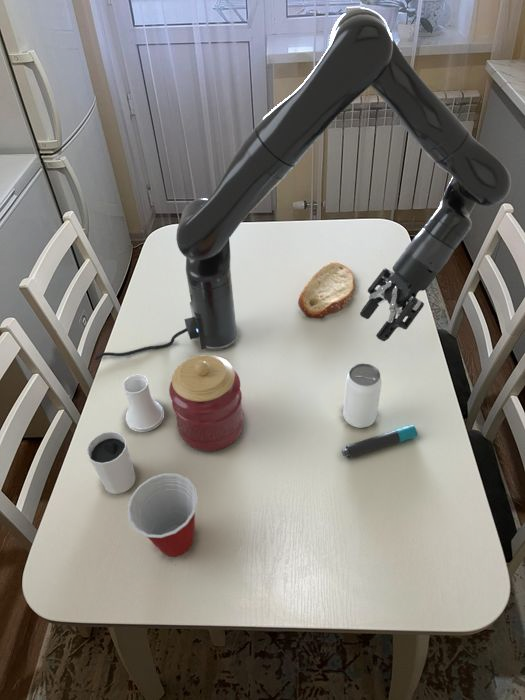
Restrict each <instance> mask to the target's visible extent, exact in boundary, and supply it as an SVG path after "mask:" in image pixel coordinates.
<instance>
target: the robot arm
mask: <svg viewBox="0 0 525 700" xmlns="http://www.w3.org/2000/svg"><path fill="white" fill-rule="evenodd" d="M329 40H330V41H329V46H328V48H327V49H326V51H325V53H324V54H323V56H322V57H321V59H320V60H319V61H318V63H317V65H316V66H315V67H314V69H313V70H312V71H311V73H310V74H309V75H308V76H307V78H306V79H305V80H304V82H303V83H302V84H301V85H300V86H299V87H298V88H297V89H296V90H295V91H294V92H293V93H292V94H291V95H289V96H288V97H287V98H285V99H284V100H283V101H282V102H280V103H279V104H277V106H275V107H273V109H271V111H269V112H268V113H267V114H266V115H265V116H264V117H263V118H262V119H261V120H260V121H259V122H258V123H257V125H256V126H255V127H254V128H253V129H252V131H251V132H250V133H249V134H248V136H247V137H246V138H245V139H244V141H242V143H241V145H240V146H239V148H238V149H237V151H236V153H235V154H234V156H233V157H232V159H231V161H230V162H229V164H228V165H227V167H226V169H225V172H224V174H223V175H222V177H221V179H220V181H219V183H218V184H217V186H216V188H215V190H214V191H213V192H212V194H211V195H210V196H209V197H208V198H198V199H194V200H192V201H191V202H188V203H187V205H186V206H185V207H184V209H183V210H182V212H181V216H180V218H179V222H178V225H177V228H176V235H175V237H176V244H177V248H178V250H179V252H180V253H181V254H182V255H183V256H184V257H185V274H186V279H187V286H188V291H189V298H190V302H189V305H190V312H191V316H192V317H187V318H184V326H185V328H184V329H182V330H180V331H178V332H176V333H175V334H174V335H173V336H172V337H171V339H170V341H168V342H167V343H165V344H159V345H158V344H156V345H149V346H148V345H147V346H144V347H141V348H137V349H133V350H130V351H124V352H109V351H108V352H107V351H106V352H102V353H99V354H98V355H96V356H95V358H94V360H95V361H97V360H99V359H100V358H102V357H106V356H109V357H124V356H129V355H133V354H137V353H141V352H145V351H148V350H155V349H163V348H168V347H170V346H172V345H173V344H174V342H175V339H176V338H178V337H179V336H181V335H184V334H185V333H186V332H187V334H188V337H189V339H190V340H193V339H196V341H197V343H198V344H199V348H200V350H202V351H203V350H209V351H221V350H225V349H228V348H229V347H231V346H232V345H234V344H235V342H237V339H238V327H237V321H236V311H235V310H236V309H235V301H234V291H233V283H232V272H231V270H232V269H231V262H232V261H231V256H232V255H231V243H230V238H231V236H233V234H234V232H235V231H236V230H237V228H238V227H239V225H240V224H242V222H243V221H244V219H246V217H247V216H248V215H250V213H251V212H252V211H253V210H254V209H255V208H256V207H257V206H258V205H259V204H260V203H261V202H262V201H264V199H265V198H266V197H267V196H268V195H269V194H270V193H271V192H272V191H273V190H274V189H275V187H277V185H278V184H280V183H281V182H282V181H283V180H284V178H285V177H286V176H287V175H288V174H289V173H291V171H292V170H293V169H294V168H295V166H296V165H297V164H298V163H299V162H300V161H301V159H302V158H303V157H304V156H305V155H306V153H308V151H309V150H310V149H311V148H312V147H313V146H314V144H315V143H316V142H317V141H318V140H319V138H320V137H322V135H323V133H325V131H326V130H327V128H328V127H329V126H330V125H331V124H332V123H333V121H334V120H335V119H336V118H337V117H339V115H340V114H342V112H344V110H346V109H347V107H349V106H350V105H351V104H352V103H353V102H354V101H355V100H357V98H358V97H360V96H361V95H362V94H363V93H364V92H366V90H368V89H369V88H371V89H372V90H374V92H376V94H377V95H378V96H380V97H381V99H382V100H383V101H384V102H385V104H387V105H388V107H389V108H390V110H391V111H392V112H393V114H394V115H395V116H396V117H397V119H398V120H399V122H400V124H402V126H403V127H404V129H405V130H406V132H407V133H408V135H410V137H411V138H412V140H413V141H414V142H415V143H416V144H417V146H418V147H419V148H420V149H421V150H422V151H423V152H424V153H425V154H426V156H427V157H428V158H430V160H431V161H432V162H433V163H434V164H435V165H437V167H439V168H440V169H441V170H443V171H444V172H446V173H447V174H449V175H450V176H451V179H450V181H449V182H448V185H447V187H446V189H445V191H444V193H443V195H442V197H441V199H440V202H439V205H438V207H437V208H436V210H435V211H434V213H433V214H432V215H431V216H430V218H429V219H428V220H427V222H426V223H425V224H424V226H423V227H422V228H421V230H420V231H419V232H418V233H417V234H415V236H414V237H413V239H412V240H411V241H410V243H408V245H407V246H406V248H405V249H404V250H403V252H402V253H401V255H400V256H399V257H398V259H397V260H396V261H395V263H394V265H393V266H392V270H390V269H388V268H387V267H384V268H383V269H382V271H381V272H380V273H379V274H378V276H377V277H376V278H375V280H374V281H373V282H372V283H371V285H370V286H369V287H368V289H367V293H369V296H368V300H367V302H366V303H365V305H364V306H363V307H362V309H361V310H360V312H359V315H360V317H362V318H364V319H365V320H369V319H370V318H371V317H372V316H373V314H374V313H375V312H376V310H377V308H378V307H380V305H379V304H382V303H384V302H387V303H388V305H389V308H388V310H389V316H388V320H386V321H385V323H383V325H382V326H381V328H380V329H379V330H378V332H376V334H375V336H376V338H377V339H378V340H379V341H382V342H386V341H387V340H389V339H390V338H391V337H392V335H393V334H394V332H395V331H396V329H399V328H400V329H402V330H407V329H408V328H409V326H411V324H412V323H413V321H415V319H416V318H417V316H418V315H419V313H420V312H421V310H422V309H423V308H424V306H425V302H423V301H421V300H420V299H418V298H417V295H418V293H419V292H421V291H422V292H423V291H426V290H427V288H428V287H429V286H430V285H431V284H432V282H433V281H434V280H435V278H436V277H437V276H438V274H439V273H440V272H441V271H442V269H443V268H444V267H445V265H446V264H447V262H449V260H450V258H451V257H452V255H453V253H454V252H455V250H456V249H457V248H458V246H459V245H460V244H461V242H462V241H463V240H464V238H465V237H466V236H467V235H468V233H469V232H470V230H471V229H472V225H473V222H472V219H471V216H470V215H471V214H472V211H473V209H474V208H475V206H476V204H477V205H480V206H484V207H485V206H486V207H488V206H496V205H497V204H499V203H501V202H503V201H504V200H505V198H506V197H507V196H508V195H509V193H510V191H511V187H512V178H511V174H510V172H509V170H508V169H507V167H506V166H505V165H504V164H503V163H502V161H500V160H499V158H497V157H496V156H495V155H494V154H493V153H492V152H490V151H489V150H488V149H487V148H486V147H484V146H483V145H482V144H481V142H478V140H477V139H475V137H473V135H472V134H471V132H470V130H468V128H467V127H466V126H465V125H464V124H463V123H462V122H461V120H460V119H459V118H458V117H457V115H455V114H454V113H453V111H452V110H450V108H449V107H448V106H447V105H446V104H445V102H444V101H442V100H441V98H440V97H439V96H437V94H436V93H435V92H434V91H433V90H432V89H431V88H430V87H429V86H428V85H427V83H426V82H424V80H423V79H422V78H421V77H420V75H419V74H418V73H417V72H416V71H415V69H414V68H413V67H412V66H411V64H410V63H409V62H408V60H407V59H406V57H405V55H404V54H403V53H402V51H401V50H400V48H399V46H398V45H397V42H395V39H394V37H393V36H392V33H391V32H390V28H389V26H388V24H387V21H386V20H385V19H384V17H382V15H381V14H379V13H378V12H376V11H375V10H372V9H370V8H365V7H358V8H353V9H351V10H347V12H345V13H343V14H342V15H341V16H340V17H339V18H338V19H337V21H336V22H335V24H334V26H333V28H332V31H331V34H330V39H329ZM378 286H379V287H378ZM377 287H378V288H377ZM376 288H377V289H376ZM406 317H407V318H406Z"/></svg>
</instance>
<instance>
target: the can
mask: <svg viewBox="0 0 525 700" xmlns="http://www.w3.org/2000/svg"><path fill="white" fill-rule="evenodd" d="M381 389H382V377H381V372H380V370H379V368H377V366H374V365H372V364H370V363H366V362H365V363H357V364H355V365H353V366H352V367H351V368H350V369H349V372H348V374H347V375H346V379H345V388H344V398H343V410H342V413H343V414H342V415H343V418H344V420H345V422H346V423H347V424H348V425H350V426H352V427H354V428H359V429H362V428H363V429H364V428H368V427H370V426H371V425H373V424H374V423H375V422H376V419H377V414H378V409H379V401H380V396H381Z"/></svg>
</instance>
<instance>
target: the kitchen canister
mask: <svg viewBox="0 0 525 700" xmlns="http://www.w3.org/2000/svg"><path fill="white" fill-rule="evenodd" d="M168 392H169V397H170V400H171V406H172V409H173V412H174V413H175V418H176V426H177V431H178V433H179V435H180V437H181V438H182V440H183V442H184V443H186V445H188V446H189V447H190V448H192V449H194V450H197V451H201V452H217V451H220V450H224V449H225V448H228V447H230V446H231V445H232V444H234V443H235V442H236V441H237V440H238V439H239V437H240V435H241V434H242V433H243V428H244V424H245V413H244V410H243V405H242V399H243V396H242V390H241V379H240V377H239V374H238V372H237V371H236V370H235V369H234V367H233V366H232V364H231V363H230V362H229V361H228V360H227V359H225V358H223V357H221V356H218V355H214V354H201V355H196V356H193V357H189V358H188V359H186V360H184V361H182V362H181V363H180V364H179V365H178V366H177V367H176V368H175V370H174V372H173V374H172V377H171V381H170V384H169V388H168Z"/></svg>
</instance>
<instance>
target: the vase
mask: <svg viewBox="0 0 525 700" xmlns="http://www.w3.org/2000/svg"><path fill="white" fill-rule="evenodd" d="M122 389H123V391H124V393H125V395H126V398H127V402H128V409H127V411H126V412H125V422H126V425H127V426H128V428H129V429H130V430H132V431H134V432H138V433H147V432H150V431H153V430H154V429H157V428H158V427H159V426H160V425H161V424H162V422H163V421H164V418H165V411H164V407H163V406H162V405H161V403H159V402H158V401H156V400H155V399H154V397H153V396H152V394H151V390H150V387H149V379H148V378H147V376H145V375H144V374H138V373H137V374H132V375H129V376H128V377H126V378H125V379H124V380H123V382H122Z"/></svg>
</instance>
